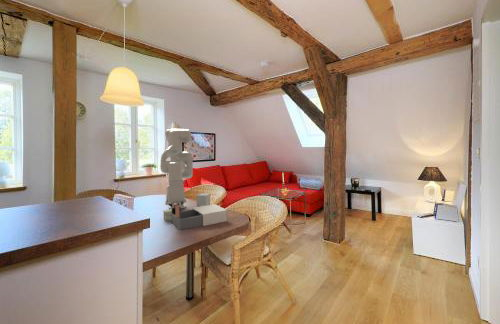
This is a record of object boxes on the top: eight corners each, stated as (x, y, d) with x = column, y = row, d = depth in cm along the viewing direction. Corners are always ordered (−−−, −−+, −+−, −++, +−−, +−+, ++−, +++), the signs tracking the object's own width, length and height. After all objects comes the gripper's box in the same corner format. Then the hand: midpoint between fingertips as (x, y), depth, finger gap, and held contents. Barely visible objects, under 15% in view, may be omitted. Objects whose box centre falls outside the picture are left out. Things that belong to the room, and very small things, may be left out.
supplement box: (210, 210, 178) (210, 193, 176) (206, 213, 170) (205, 195, 169) (201, 209, 180) (201, 193, 178) (196, 212, 172) (196, 195, 171)
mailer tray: (170, 222, 151) (170, 202, 150) (199, 217, 161) (198, 198, 160) (179, 230, 138) (178, 207, 137) (209, 223, 148) (209, 203, 147)
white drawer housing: (192, 218, 160) (192, 207, 159) (214, 214, 169) (214, 204, 168) (203, 226, 145) (203, 214, 144) (227, 221, 154) (227, 210, 154)
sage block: (163, 219, 158) (163, 210, 157) (171, 218, 161) (171, 209, 160) (165, 221, 154) (165, 212, 153) (173, 220, 156) (173, 210, 156)
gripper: (186, 181, 150) (187, 210, 152) (159, 183, 141) (160, 214, 143) (190, 182, 144) (191, 213, 146) (163, 185, 135) (164, 217, 137)
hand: (176, 213), depth 144 cm, fingers closed on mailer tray, 2 cm apart
